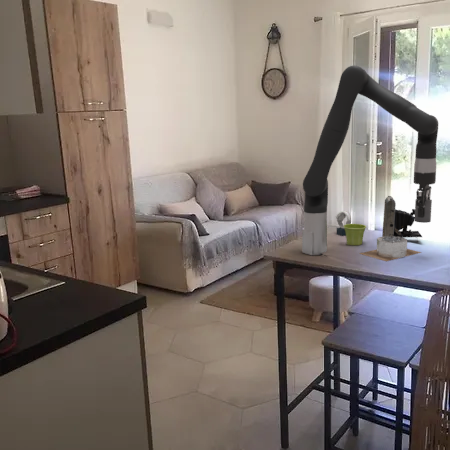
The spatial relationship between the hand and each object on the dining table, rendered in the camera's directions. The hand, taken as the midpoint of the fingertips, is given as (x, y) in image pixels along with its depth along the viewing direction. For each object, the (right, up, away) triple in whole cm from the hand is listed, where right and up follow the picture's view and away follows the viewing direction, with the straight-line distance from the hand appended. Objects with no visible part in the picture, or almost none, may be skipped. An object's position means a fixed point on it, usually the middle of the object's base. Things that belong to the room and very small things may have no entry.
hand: (422, 215), depth 186 cm
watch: (-18, -8, +49) cm, 52 cm away
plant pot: (-18, -13, +28) cm, 36 cm away
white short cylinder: (-9, -15, +9) cm, 20 cm away
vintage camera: (+3, -11, +31) cm, 33 cm away
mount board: (-8, -16, +11) cm, 21 cm away
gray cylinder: (0, -2, 0) cm, 2 cm away
